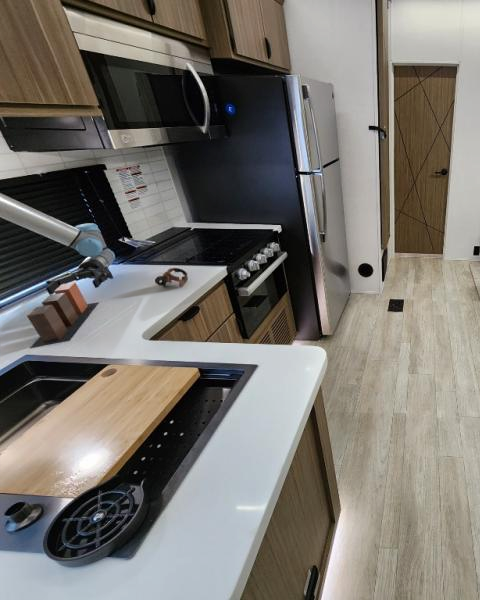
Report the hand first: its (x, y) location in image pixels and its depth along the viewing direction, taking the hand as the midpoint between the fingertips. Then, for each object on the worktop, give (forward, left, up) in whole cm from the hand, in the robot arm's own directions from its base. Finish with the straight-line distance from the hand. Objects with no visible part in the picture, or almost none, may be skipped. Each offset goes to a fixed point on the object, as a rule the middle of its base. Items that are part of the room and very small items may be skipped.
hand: (72, 287), depth 122 cm
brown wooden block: (+5, -12, -8) cm, 15 cm away
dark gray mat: (+5, -12, -8) cm, 15 cm away
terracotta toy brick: (+2, -4, -8) cm, 9 cm away
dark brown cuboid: (+9, -20, -8) cm, 23 cm away
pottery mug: (+24, +18, -8) cm, 31 cm away
